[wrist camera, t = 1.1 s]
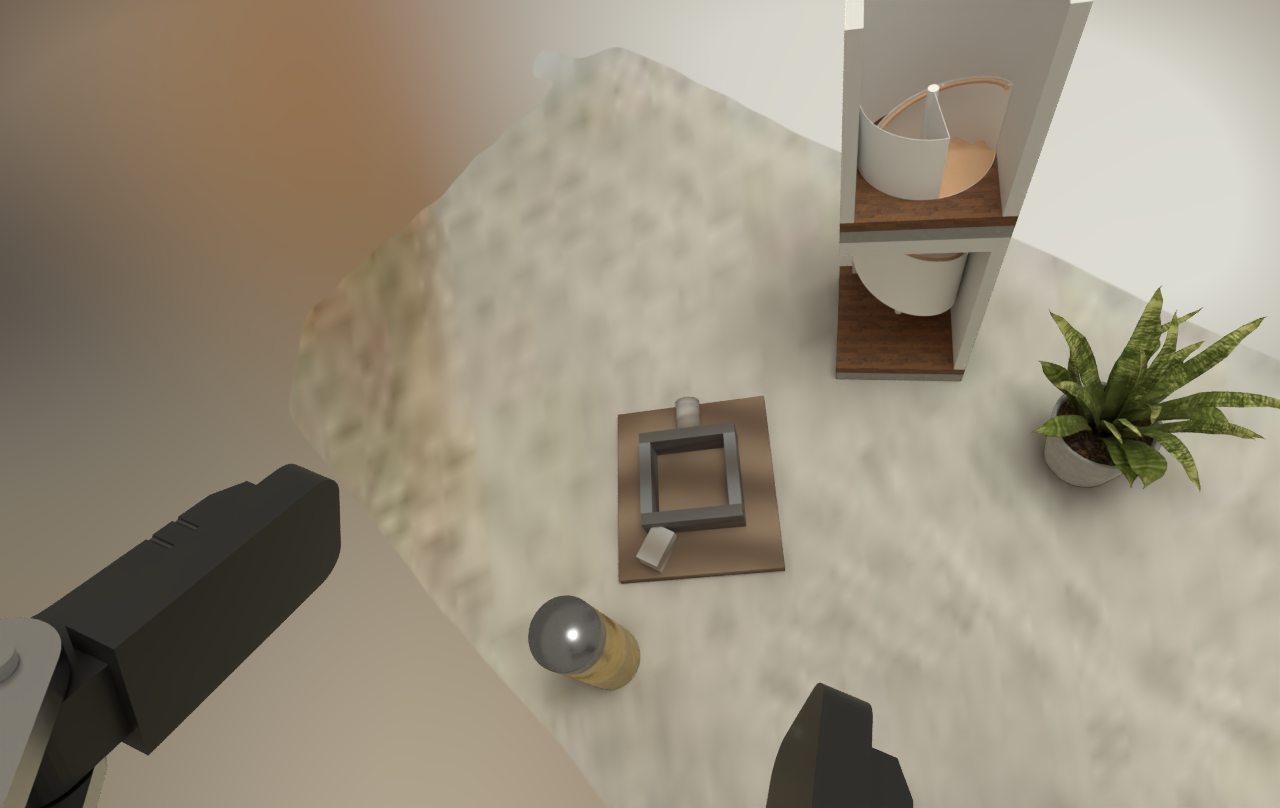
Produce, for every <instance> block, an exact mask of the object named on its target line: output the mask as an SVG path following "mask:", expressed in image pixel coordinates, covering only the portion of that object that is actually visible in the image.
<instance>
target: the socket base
mask: <svg viewBox="0 0 1280 808" xmlns="http://www.w3.org/2000/svg"><path fill="white" fill-rule="evenodd" d="M675 404H676V407H674V408H667V409H659V410H651V411H644V412H636V413H628V414H621V415H618V522H619V581H620V582H621V583H634V582H647V581H660V580H672V579H685V578H697V577H710V576H722V575H735V574H747V573H760V572H772V571H785V565H784V557H783V548H782V540H781V532H780V524H779V516H778V507H777V499H776V491H775V483H774V475H773V466H772V458H771V450H770V442H769V434H768V425H767V417H766V409H765V401H764V396H759V397H751V398H743V399H736V400H728V401H720V402H713V403H705V404H699V400H698V399H696V398H694V397H683V398H680V399H678V400H677V401H676V403H675Z"/></svg>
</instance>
